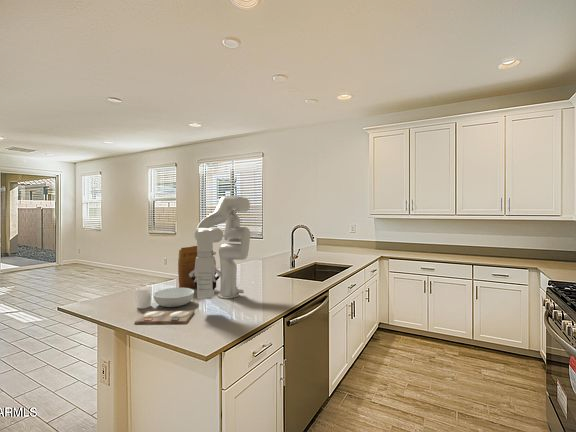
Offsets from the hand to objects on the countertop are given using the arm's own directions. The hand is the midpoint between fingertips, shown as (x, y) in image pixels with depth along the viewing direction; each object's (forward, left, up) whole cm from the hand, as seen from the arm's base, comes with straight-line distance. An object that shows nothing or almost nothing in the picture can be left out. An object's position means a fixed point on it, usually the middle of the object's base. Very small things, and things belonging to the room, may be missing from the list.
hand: (205, 289), depth 151 cm
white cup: (+35, -11, -12) cm, 39 cm away
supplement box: (0, 0, -4) cm, 4 cm away
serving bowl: (+20, -14, -12) cm, 28 cm away
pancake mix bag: (+20, -48, -12) cm, 54 cm away
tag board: (+17, +7, -12) cm, 22 cm away
